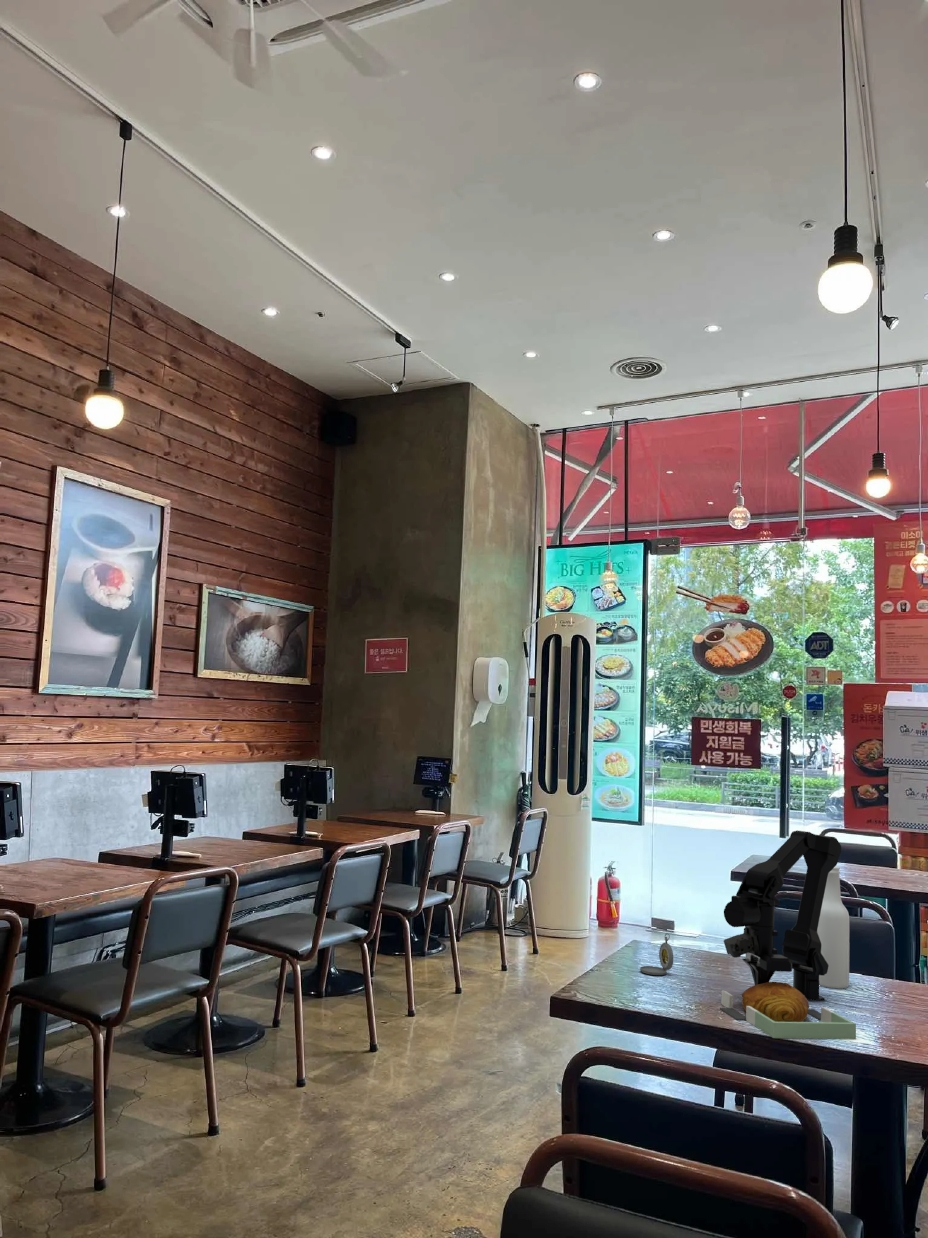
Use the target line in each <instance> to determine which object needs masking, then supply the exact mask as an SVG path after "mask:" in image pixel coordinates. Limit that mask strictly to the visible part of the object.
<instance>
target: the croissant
mask: <svg viewBox="0 0 928 1238" xmlns="http://www.w3.org/2000/svg"><path fill="white" fill-rule="evenodd" d="M741 998H742V1000H741V1003H742V1008H743V1009H744V1010H745V1012H746V1006H751V1007H752V1008H754V1009H755V1010H757V1011H759V1012H760V1013H762V1014H764V1015H765V1016H767V1017H768V1018H770V1019H772V1020H773V1021H775V1022H804V1020H805V1019H807V1017H808V1015H809V1014H808V1011H809V1010H808V1009H810V1005H809V1004H810V1003H809V1000H807V999H806V997H805V996H804V995H803V994H802V993H801V992H800V991H799V990H797V989H796V988H794V987H793V986H792V985H791V984H789V983H788V982H779V981H769V982H766V983H763V984H757V985H755V984H754V985H752V986H750V987H748V988H747V989H746V990H743V992H742V994H741Z"/></svg>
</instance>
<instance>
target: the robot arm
mask: <svg viewBox="0 0 928 1238" xmlns="http://www.w3.org/2000/svg"><path fill="white" fill-rule="evenodd" d="M841 853H842V844H841V843H840V842H839V840H838V839H837V838H836V837H834V836H829V835H822V834H815V833H812V832H810V831H804V830H794V831H792V832H791V833H790V836H789V837H788V839H786V841H785V842H783V844H781V846H780V847H779V848H778V849H777V850H776V851H775V852H774V853H773V854H772V855H771V856H770V857H769V858H768V859H767V860H765V861H762V862H758V863H756V864H755V865H753V866H752V867H750V868H748V870H747V871H746V872H745V875H744V877H743V879H742V881H741V883H740V884H739V885H740V886H739V887H738V890H737V891H736V894H735V895H731V901H729V902H727V903H726V905H725V906H724V909H723V916H724V920H725V921H726V923H727V924H728V925H729V926H730V927H733V928H741V927H742V928H743V927H744V928H743V933H740V934H736V935H733V936H730V937H729V938H728V937H727V938H725V939H723V943H724V947H725V951H726V954H727V955H729V956H732V958H733V959H734V958H739V957H741V956H743V955H745V956H744V957H745V958H742V961H743V962H744V963H745V964H746V965H747V966H748V967H749V969H750V971H751V975H752V979H753V984H754V985H757V984H763V983H766V982H771V980H772V978H773V976H774V974H775V973H776V972H784V973H785V972H786V973H787V972H789V973H791V972H792V973H793V974H792V976H793V979H792V981H793V982H792V983H793V986H792V987H794V988H796V989H797V990H799V991H800V992H801V993H802V994H803V995H804V996H805V997H806V999H807V1000H808V1001H825V1000H826V998H825V997H823V996H821V995H820V986H819V975H823V976H824V975H825V974H827V971H828V963H827V962H826V960H825V959H824V957H823V955H822V954H821V941H820V939H819V936H818V933H817V928H818V923H819V918H820V913H821V908H822V903H823V898H824V892H825V887H826V882H827V877H828V873H829V872H830V871H831V870H832V869H833V868H834V867H835V866H838V865H837V864H838V862H839V859H840V856H841ZM802 857H803V859H804V862H805V864H806V873H805V877H804V882H803V883H804V884H803V886H802V893H801V897H800V903H799V907H798V913H797V917H796V923H795V925H794V926H793V927H792V928H791V929H788V928H786V930H785V931H784V938H783V942H782V945H781V946H782V950H781V951H782V954H778V949H776V948H775V937H778V931H777V930H776V929H775V908H776V907H775V906H777V905H780V904H781V902H780V900H779V899H778V898H777V897H776V895H778V893H779V892H780V890H781V889H782V888H783V885H784V884H785V882H784V880H785V879H784V877H785V876H786V875H787V873H788V872H789V871H790V870H791V868H793V866H794V865H796V863H797V862H799V860H800V859H801V858H802Z"/></svg>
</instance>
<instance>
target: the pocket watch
mask: <svg viewBox="0 0 928 1238" xmlns="http://www.w3.org/2000/svg"><path fill="white" fill-rule="evenodd" d="M670 936H671V935H670V934H669V933H667V932H666V933H665V934H664V940H665V942H663V943H662V944H661V945H660V947H659V950H658V953H659V954H658V959H659V962H660V965H661V967H660V966H653V965H644V966H642V965H641V966H639V967H640V968H639V971H640V972H642V973H644V974H646V975H652V976H663V975H666V974H667V971H669V970H671V969H672V967H673V965H674V952H673V948H672V946H671V945H670V943H668V941H669V940H670Z"/></svg>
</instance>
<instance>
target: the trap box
mask: <svg viewBox="0 0 928 1238" xmlns="http://www.w3.org/2000/svg"><path fill="white" fill-rule="evenodd" d="M733 997H734V995H732V994H731V993H729V992H728V991H726V990H721V1005H722V1006H724V1007H720V1008H719V1010H721V1011H722V1012H724V1014H727V1015H728V1016H730V1017H731V1018H733V1019H734V1020H735V1021H746V1022H747V1023H749V1024H751V1025H752V1026H754V1027H756V1028H757V1029H759V1030H760V1029H761V1030H760V1031H762V1032H763V1031H764V1032H763V1033H765V1034H766V1035H768V1036H769V1037H771V1038H772V1039H810V1038H813V1040H814V1039H818V1040H819V1039H824V1040H827V1039H828V1040H829V1039H830V1040H831V1039H833V1040H834V1039H835V1040H836V1039H837V1040H854V1039H855V1040H856V1039H857V1023H856V1022H854V1021H851V1020H849V1019H847V1018H846V1017H844V1016H842V1015H840V1014H838V1013H836V1012H834V1011H832V1010H830V1009H829V1008H827V1007H825V1006H821V1007H820V1011H818V1010H816V1009H815V1008H808V1010H809V1011H808V1014H807V1015H809V1016H810V1017H812V1018H815V1019H817V1020H818V1021H816V1022H815V1021H814V1022H813V1021H812V1022H811V1021H802V1022H775V1021H773V1020H772V1019H770V1018H768V1017H767V1016H765V1015H764V1014H762V1013H760V1012H759V1011H757V1010H755V1009H754V1008H752V1007H751V1006H746V1011H745V1015H744V1014H742V1012H739V1011H738V1010H736V1009H735V1008H733V1006H734V1003H733V1001H734V998H733Z"/></svg>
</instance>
